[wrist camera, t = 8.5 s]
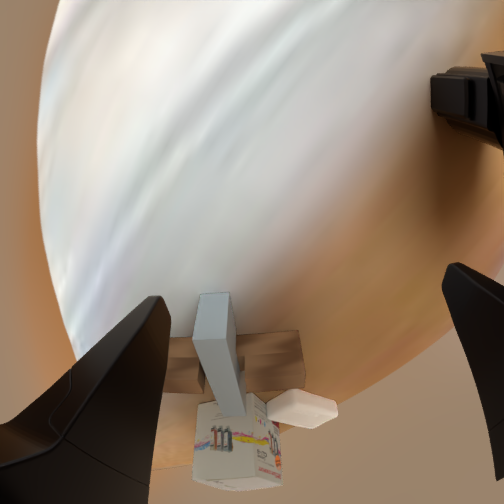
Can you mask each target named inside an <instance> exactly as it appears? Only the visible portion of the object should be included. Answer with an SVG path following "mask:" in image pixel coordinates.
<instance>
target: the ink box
mask: <svg viewBox="0 0 504 504" xmlns="http://www.w3.org/2000/svg"><path fill="white" fill-rule="evenodd" d="M192 480H193V481H196V482H199V483H203V484H206V485H209V486H212V487H215V488H219V489H222V490H226V491H233V490H235V491H247V490H255V489H262V488H270V487H276V486H281V485H283V477H282V464H281V449H280V437H279V422H276V421H272V420H269V419H268V418H267V410H266V404H265V403H264V402H263V401H262V400H260V399H259V398H258V397H257V396H256V395H255V394H254V393H252V392H250V393H246V416H229V417H223V414H222V412H221V410H220V408H219V405H218V403H217V401H212V402H207V403H203V404H198V412H197V423H196V434H195V446H194V457H193V470H192Z"/></svg>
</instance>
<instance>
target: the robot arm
mask: <svg viewBox="0 0 504 504" xmlns="http://www.w3.org/2000/svg"><path fill="white" fill-rule="evenodd" d="M481 57H482V60H483V62H485V65H486V68H477V67H453V68H451V69H449V70H448V71H447V72H446V73H445V74H444V73H437V74H436V75H433V76H432V77H431V108H432V110H433V111H434V112H437V114H438V116H441V117H445V119H446V120H447V122H448V124H449V125H450V126H451V127H452V128H453V129H454V130H455V131H456V132H458V133H460V134H462V135H465V136H468V137H471V138H473V139H476V140H479V141H481V142H484V143H486V144H489V145H491V146H493V147H496V148H498V149H500V150H503V154H504V51H497V52H488V53H481ZM442 292H443V294H444V297H445V300H446V303H447V305H448V308H449V311H450V314H451V317H452V320H453V323H454V326H455V329H456V331H457V334H458V336H459V339H460V341H461V344H462V346H463V349H464V352H465V354H466V357H467V360H468V362H469V365H470V368H471V371H472V374H473V377H474V380H475V383H476V386H477V390H478V393H479V397H480V400H481V404H482V407H483V411H484V415H485V419H486V423H487V428H488V431H489V432H488V433H489V438H490V443H491V449H492V454H493V461H494V468H495V477H496V480H497V481H498V480H500V479H502V478H504V286H503V285H501V284H499V283H497V282H496V281H494V280H492V279H490V278H488V277H487V276H485V275H483V274H481V273H479V272H477V271H475V270H473V269H471V268H470V267H468V266H466V265H464V264H462V263H460V262H456V263H450V264H449V265H448V266H447V269H446V272H445V275H444V279H443V282H442ZM170 329H171V316H170V314H169V311H168V309H167V306H166V304H165V301H164V299H163V298H162V296H149V297H147V298H146V299H145V300H144V301H142V302H141V303H140V304H139V305H138V306H137V307H136V308H135V309H134V310H132V311H131V312H130V313H129V314H128V315H127V316H126V317H125V318H124V319H123V320H121V321H120V322H119V323H118V324H117V325H116V326H115V327H114V328H113V329H112V330H110V331H109V332H108V333H107V334H106V335H105V336H104V337H103V338H102V339H101V340H100V341H99V342H98V343H96V344H95V345H94V346H93V347H92V348H91V349H90V350H89V351H88V352H87V353H86V354H85V355H84V356H83V357H82V358H81V359H80V360H78V361H77V362H76V363H75V364H74V365H73V366H72V368H71V369H69V370H68V371H67V372H66V373H65V374H64V375H63V376H62V377H61V378H60V379H59V380H58V381H56V382H55V383H54V384H53V385H52V386H51V387H50V388H49V389H48V390H47V391H45V392H44V393H43V394H42V395H41V396H40V397H39V398H37V399H36V400H35V401H34V402H33V403H31V404H30V405H29V406H28V407H27V408H26V409H24V410H23V411H22V412H21V413H19V415H17V416H16V417H15V418H13V419H12V420H10V421H9V422H7V423H4V424H0V504H148V495H149V484H150V475H151V467H152V459H153V451H154V444H155V437H156V430H157V423H158V417H159V411H160V405H161V399H162V393H163V387H164V382H165V376H166V371H167V364H168V352H169V340H170Z"/></svg>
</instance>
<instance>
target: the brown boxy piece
mask: <svg viewBox="0 0 504 504" xmlns="http://www.w3.org/2000/svg"><path fill="white" fill-rule="evenodd" d="M192 338H193V337H177V338H170V340H169V352H168V364H167V371H166V376H165V382H164V387H163V392H166V393H195V394H204V385H205V375H206V374H205V372H204V370H203V367H202V364H201V362H200V359H199V357H198V354H197V352H196V349H195V346H194V344H193V341H192ZM236 354H237V359H238V363H239V367H240V371H245V382H246V387H247V391H248V393H249V392H265V391H277V390H288V389H297V388H304V386H305V377H306V372H305V366H304V360H303V354H302V349H301V343H300V338H299V332H298V330H294V331H284V332H274V333H262V334H248V335H236Z"/></svg>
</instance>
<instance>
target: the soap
mask: <svg viewBox="0 0 504 504" xmlns="http://www.w3.org/2000/svg"><path fill="white" fill-rule="evenodd" d="M266 410H267V418H268V419H269V420H272V421H276V422H280V423H285V424H289V425H293V426H298V427H303V428H308V429H314V428H316V427H318V426H320V425H321V424H323V423H325V422H327V421H329V420H331V419H333V418H336V417H337V416H338V409H337V405H336V402H335V401H334V400H331V399H328V398H325V397H321V396H318V395H315V394H312V393H309V392H306V391H303V390H300V389H289V390H287V391H285V392H284V393H282V394H280V395H278V396H277V397H275V398H273V399H272V400H270V401H268V402H267V404H266Z"/></svg>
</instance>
